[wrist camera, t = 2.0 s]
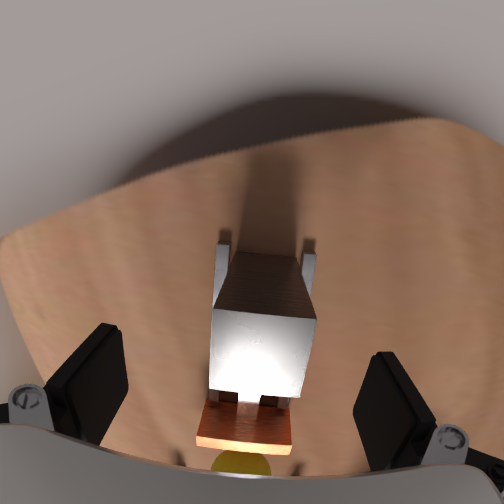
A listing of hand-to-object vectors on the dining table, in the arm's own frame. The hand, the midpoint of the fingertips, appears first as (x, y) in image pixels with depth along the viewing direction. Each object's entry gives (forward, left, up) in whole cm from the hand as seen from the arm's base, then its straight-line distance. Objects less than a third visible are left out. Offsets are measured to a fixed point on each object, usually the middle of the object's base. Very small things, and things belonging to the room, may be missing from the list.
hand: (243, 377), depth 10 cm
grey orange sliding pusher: (-1, +5, -11) cm, 12 cm away
